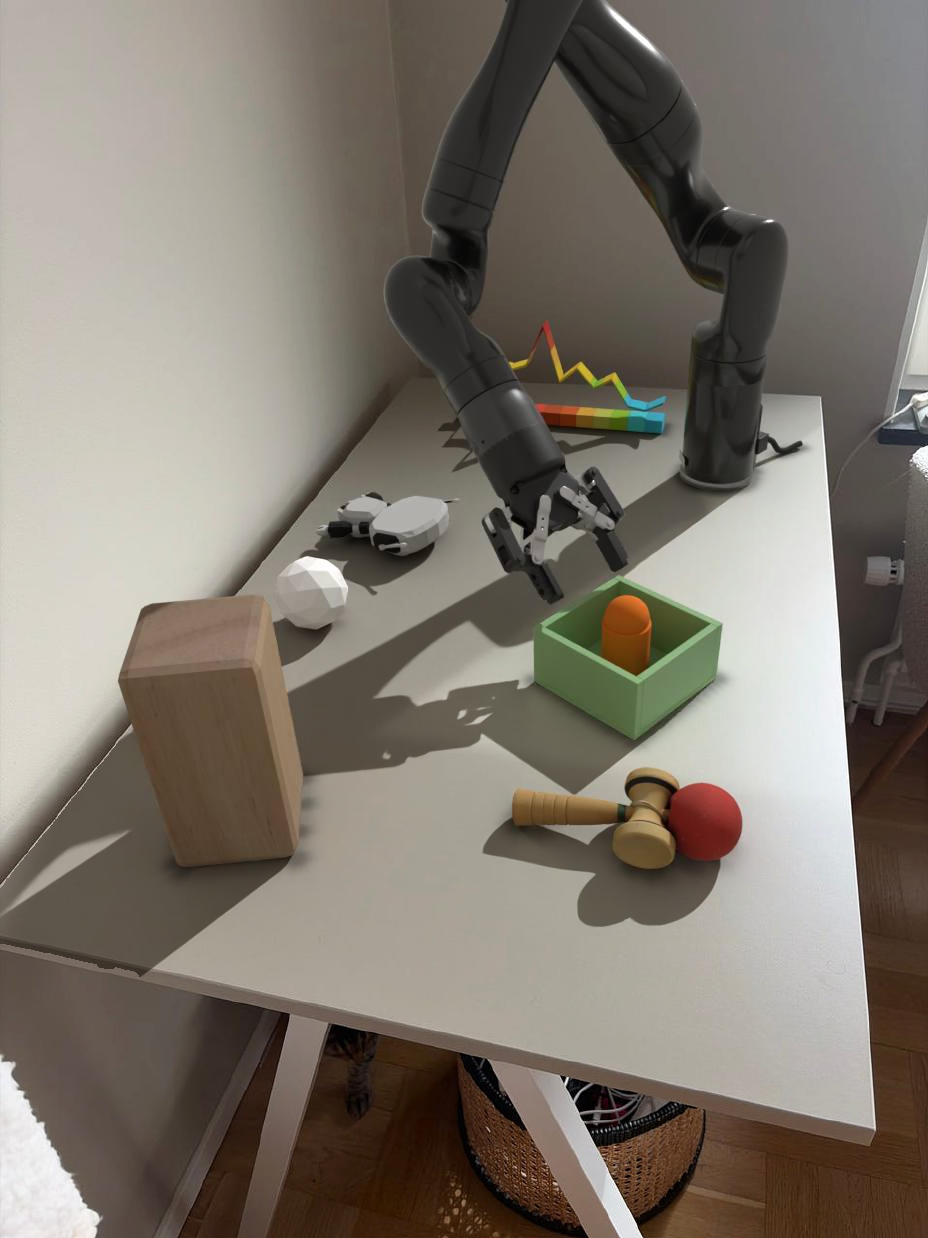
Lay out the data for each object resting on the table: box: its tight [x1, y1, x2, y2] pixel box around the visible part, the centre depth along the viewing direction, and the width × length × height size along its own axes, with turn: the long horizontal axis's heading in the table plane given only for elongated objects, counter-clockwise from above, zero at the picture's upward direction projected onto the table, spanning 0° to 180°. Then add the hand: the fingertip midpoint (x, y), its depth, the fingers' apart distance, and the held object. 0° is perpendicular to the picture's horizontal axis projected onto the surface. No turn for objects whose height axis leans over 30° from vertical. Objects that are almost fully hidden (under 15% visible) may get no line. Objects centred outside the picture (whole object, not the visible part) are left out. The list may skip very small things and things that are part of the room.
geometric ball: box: [273, 555, 349, 630], centre depth 105 cm, size 8×8×8 cm
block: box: [117, 593, 304, 868], centre depth 77 cm, size 10×10×20 cm
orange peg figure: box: [601, 595, 651, 677], centre depth 93 cm, size 5×5×9 cm
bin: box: [532, 574, 723, 741], centre depth 94 cm, size 13×13×7 cm
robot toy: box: [315, 491, 461, 557], centre depth 120 cm, size 12×4×15 cm
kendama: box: [511, 766, 743, 870], centre depth 78 cm, size 8×6×18 cm
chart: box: [508, 319, 667, 434], centre depth 143 cm, size 30×3×15 cm, turn 72°
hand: (590, 584), depth 94 cm, fingers open, 8 cm apart
